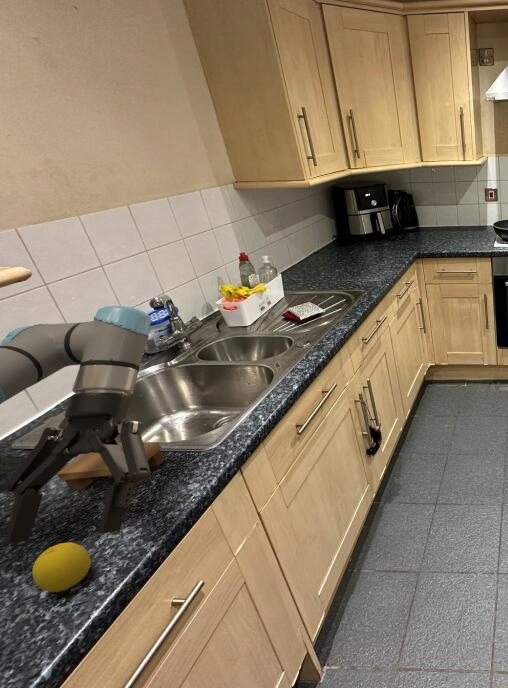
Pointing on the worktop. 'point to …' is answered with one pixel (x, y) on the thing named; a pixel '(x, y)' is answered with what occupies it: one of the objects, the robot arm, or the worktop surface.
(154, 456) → the serving board
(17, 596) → the worktop surface
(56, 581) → the lemon
